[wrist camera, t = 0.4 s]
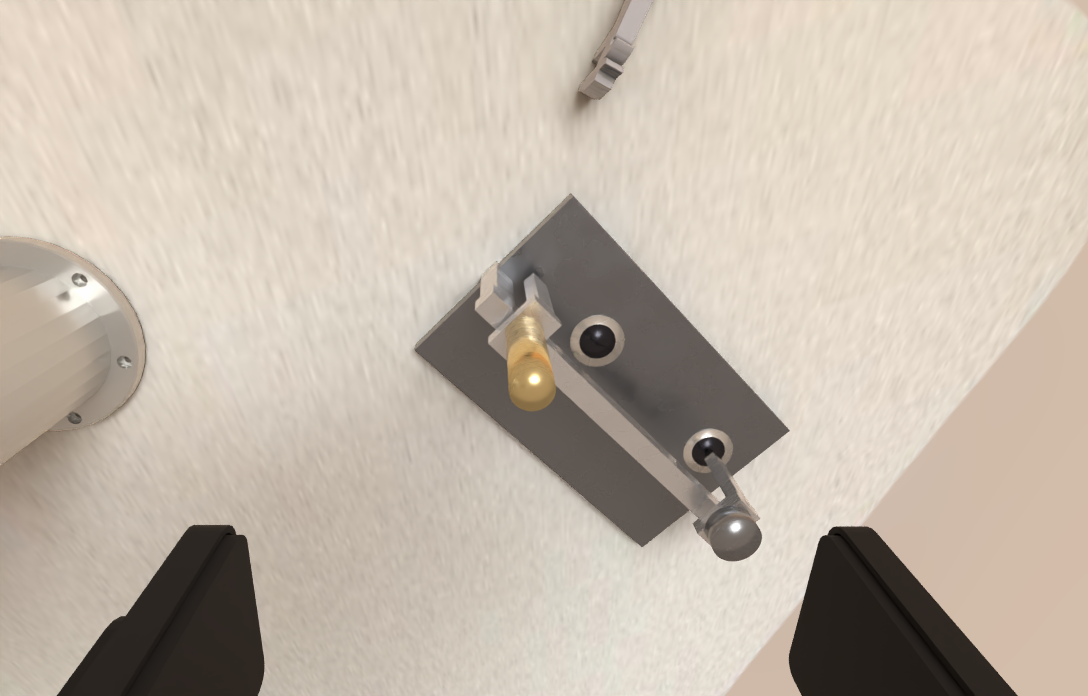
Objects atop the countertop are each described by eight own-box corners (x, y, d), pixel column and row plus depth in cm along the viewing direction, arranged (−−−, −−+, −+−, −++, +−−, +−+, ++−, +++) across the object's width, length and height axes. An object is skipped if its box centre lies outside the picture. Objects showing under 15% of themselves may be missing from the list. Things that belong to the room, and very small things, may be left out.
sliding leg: (511, 322, 40) (520, 430, 27) (489, 301, 40) (487, 401, 27) (550, 286, 40) (577, 379, 27) (527, 264, 39) (545, 348, 26)
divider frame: (692, 487, 48) (739, 580, 39) (472, 278, 41) (466, 332, 32) (727, 459, 47) (783, 547, 38) (509, 241, 40) (515, 285, 31)
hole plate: (638, 537, 49) (642, 548, 48) (416, 343, 42) (414, 350, 41) (782, 422, 46) (790, 431, 45) (571, 193, 39) (573, 196, 38)
